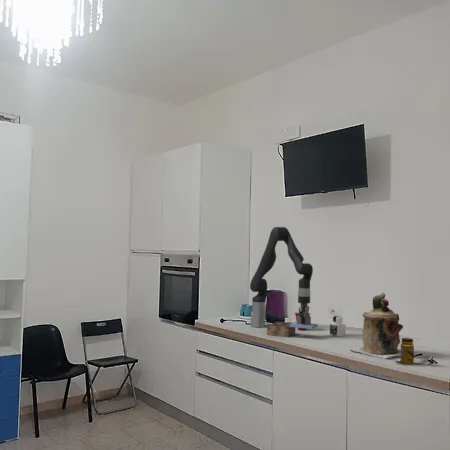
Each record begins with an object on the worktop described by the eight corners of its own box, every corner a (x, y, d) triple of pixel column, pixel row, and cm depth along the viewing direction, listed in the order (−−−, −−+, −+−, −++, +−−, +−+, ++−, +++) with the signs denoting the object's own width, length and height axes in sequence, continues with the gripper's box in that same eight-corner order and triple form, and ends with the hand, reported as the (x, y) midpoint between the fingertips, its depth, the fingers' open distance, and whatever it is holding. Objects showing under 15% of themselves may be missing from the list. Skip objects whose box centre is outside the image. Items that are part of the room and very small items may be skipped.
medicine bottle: (329, 334, 320) (329, 315, 320) (338, 334, 323) (338, 315, 323) (336, 336, 313) (337, 317, 314) (345, 335, 317) (345, 316, 317)
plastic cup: (309, 328, 341) (310, 311, 342) (310, 331, 330) (311, 313, 331) (293, 328, 342) (294, 310, 343) (294, 330, 331) (294, 312, 332)
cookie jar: (347, 351, 268) (348, 291, 270) (375, 346, 283) (376, 290, 285) (387, 360, 249) (388, 295, 250) (415, 354, 264) (415, 294, 265)
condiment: (416, 365, 238) (416, 340, 239) (397, 364, 239) (397, 339, 240) (412, 362, 245) (412, 337, 246) (394, 361, 247) (394, 336, 247)
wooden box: (267, 334, 313) (267, 324, 313) (274, 332, 325) (275, 321, 325) (288, 337, 307) (288, 326, 307) (295, 334, 318) (295, 323, 318)
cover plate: (289, 326, 307) (290, 316, 307) (296, 324, 317) (296, 314, 318) (311, 328, 301) (311, 318, 301) (317, 326, 311) (317, 316, 311)
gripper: (302, 294, 318) (301, 321, 317) (294, 295, 305) (294, 324, 305) (313, 295, 314) (313, 322, 313) (306, 296, 302) (306, 325, 301)
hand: (303, 323), depth 309 cm, fingers closed on cover plate, 3 cm apart
